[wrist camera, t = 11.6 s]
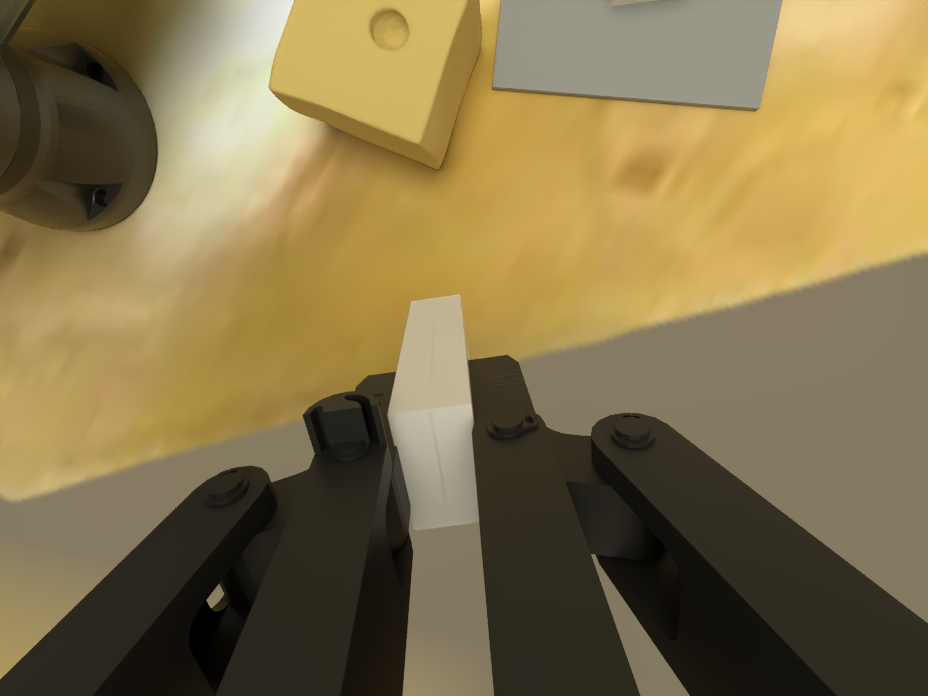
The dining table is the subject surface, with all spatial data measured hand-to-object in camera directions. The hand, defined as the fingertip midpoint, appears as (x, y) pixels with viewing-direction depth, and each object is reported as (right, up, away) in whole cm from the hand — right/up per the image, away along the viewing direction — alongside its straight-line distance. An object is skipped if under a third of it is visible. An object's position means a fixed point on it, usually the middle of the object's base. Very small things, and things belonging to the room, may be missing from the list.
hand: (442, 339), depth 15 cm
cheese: (-4, +20, +23) cm, 31 cm away
